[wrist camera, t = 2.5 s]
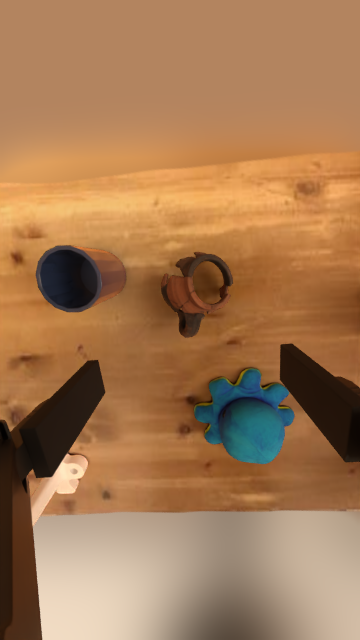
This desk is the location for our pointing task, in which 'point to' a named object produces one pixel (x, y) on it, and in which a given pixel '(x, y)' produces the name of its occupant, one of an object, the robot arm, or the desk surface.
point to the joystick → (58, 483)
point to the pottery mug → (193, 293)
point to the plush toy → (246, 417)
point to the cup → (79, 277)
